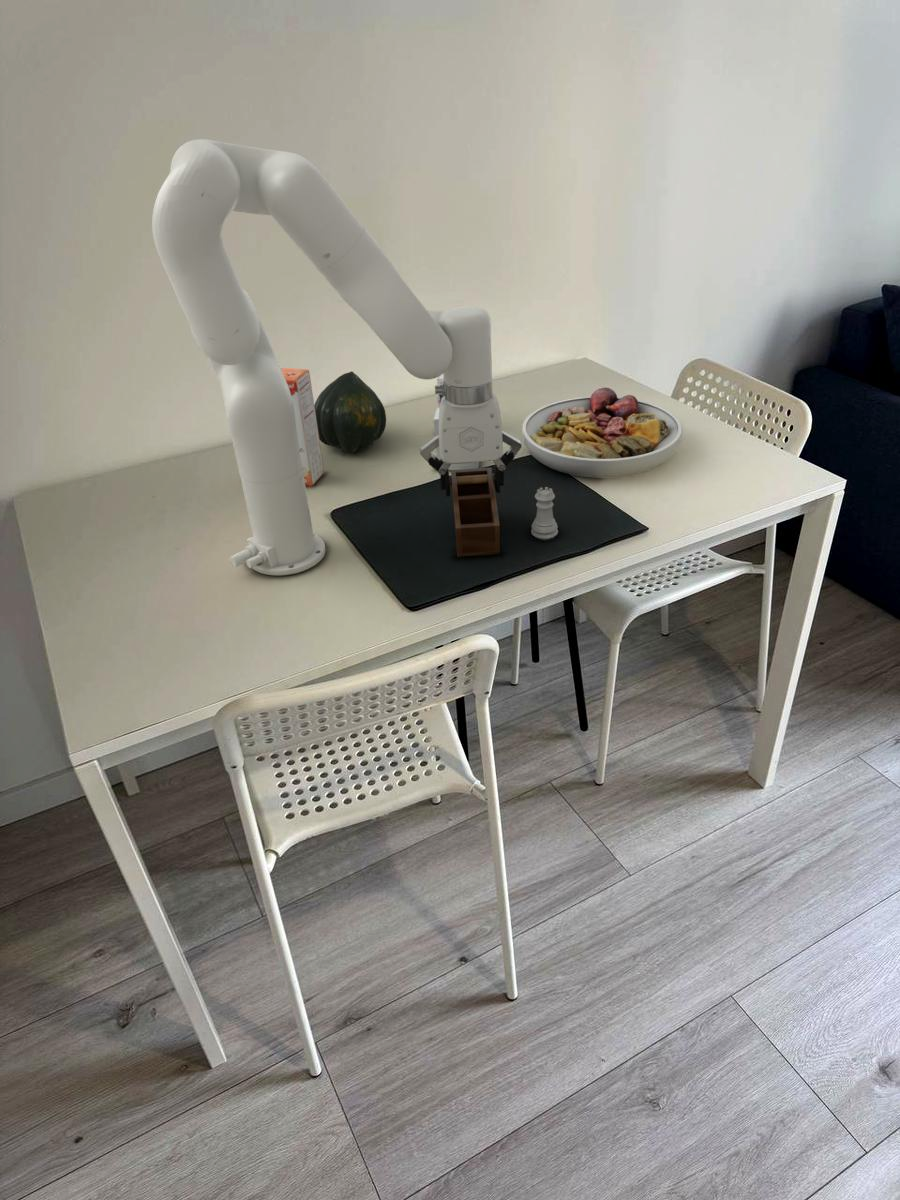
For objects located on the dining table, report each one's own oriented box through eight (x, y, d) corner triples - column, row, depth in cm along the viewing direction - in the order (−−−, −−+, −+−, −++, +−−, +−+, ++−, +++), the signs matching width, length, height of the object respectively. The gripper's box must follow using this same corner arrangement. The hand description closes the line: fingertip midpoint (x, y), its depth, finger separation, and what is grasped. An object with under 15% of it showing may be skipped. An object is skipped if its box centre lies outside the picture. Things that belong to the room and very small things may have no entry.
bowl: (684, 487, 154) (689, 446, 149) (515, 483, 158) (515, 444, 154) (675, 419, 178) (678, 382, 173) (528, 418, 183) (528, 382, 178)
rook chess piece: (536, 542, 141) (536, 499, 136) (527, 529, 144) (526, 487, 140) (562, 537, 142) (563, 494, 137) (552, 525, 145) (552, 482, 141)
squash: (313, 443, 165) (355, 374, 162) (291, 419, 176) (329, 355, 174) (371, 475, 173) (411, 411, 170) (346, 451, 185) (383, 390, 182)
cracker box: (245, 481, 165) (223, 375, 153) (260, 467, 170) (240, 363, 158) (312, 488, 161) (295, 379, 149) (325, 473, 166) (309, 367, 154)
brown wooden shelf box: (450, 498, 149) (448, 470, 145) (494, 495, 149) (493, 467, 145) (454, 557, 138) (453, 528, 134) (502, 553, 138) (502, 525, 134)
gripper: (413, 403, 132) (421, 505, 142) (526, 395, 132) (527, 497, 142) (412, 385, 138) (420, 484, 148) (521, 377, 138) (521, 477, 148)
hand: (472, 490), depth 145 cm, fingers closed on brown wooden shelf box, 7 cm apart
